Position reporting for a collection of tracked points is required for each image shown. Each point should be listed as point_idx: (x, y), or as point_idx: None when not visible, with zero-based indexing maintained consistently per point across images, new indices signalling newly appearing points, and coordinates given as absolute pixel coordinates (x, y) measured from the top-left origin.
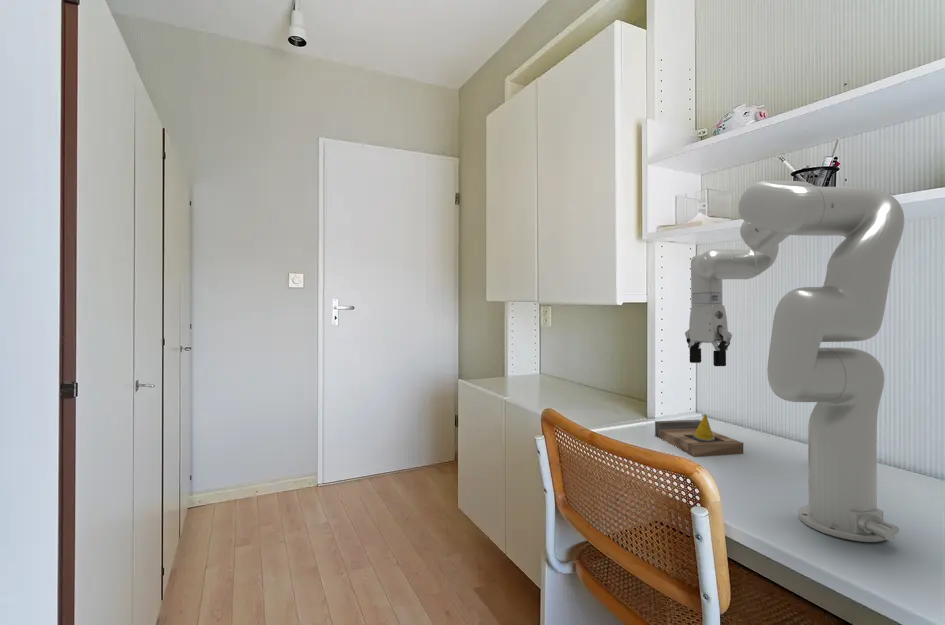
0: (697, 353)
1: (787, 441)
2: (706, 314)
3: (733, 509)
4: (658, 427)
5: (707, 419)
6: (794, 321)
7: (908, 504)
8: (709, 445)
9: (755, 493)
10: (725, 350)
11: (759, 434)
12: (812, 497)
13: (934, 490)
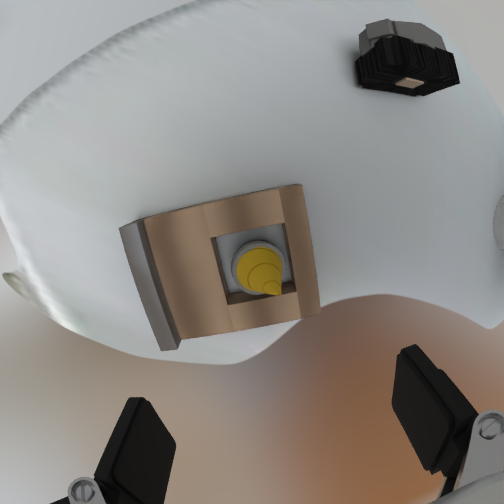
0: (143, 466)
1: (176, 30)
2: None
3: (479, 320)
4: (178, 342)
5: (279, 283)
6: None
7: (486, 110)
8: (316, 276)
9: (462, 277)
10: (485, 419)
11: (115, 65)
12: None
13: (441, 30)
